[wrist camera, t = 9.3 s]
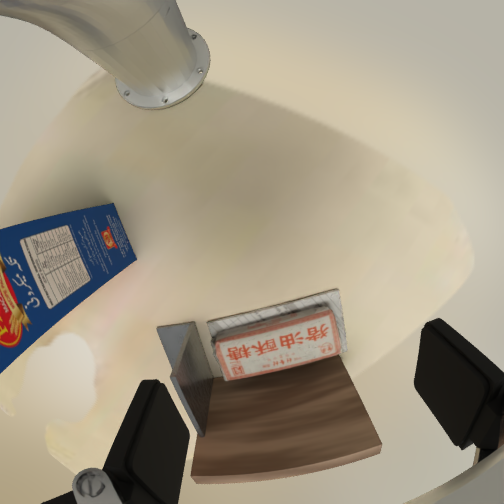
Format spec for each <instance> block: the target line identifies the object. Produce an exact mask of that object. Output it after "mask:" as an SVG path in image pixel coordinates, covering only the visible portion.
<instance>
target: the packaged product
mask: <svg viewBox="0 0 504 504" xmlns="http://www.w3.org/2000/svg"><path fill="white" fill-rule="evenodd" d="M207 325H208V327H209V330H210V333H211V336H212V338H213V339H212V340H211V346H212V348H213V355H214V357H215V358H216V361H217V362H218V363H219V365H220V369H221V372H222V373H223V377H224V380H225V381H229V380H236V379H242V378H248V377H252V376H256V375H262V374H266V373H271V372H275V371H280V370H284V369H288V368H292V367H296V366H300V365H303V364H307V363H311V362H314V361H318V360H321V359H323V358H328V357H332V356H335V355H338V354H341V353H342V352H346V351H348V349H347V341H346V333H345V325H344V319H343V312H342V305H341V299H340V294H339V290H338V289H335V290H331V291H327V292H323V293H320V294H316V295H313V296H310V297H306V298H303V299H300V300H296V301H292V302H288V303H283V304H279V305H275V306H270V307H265V308H261V309H257V310H254V311H251V312H248V313H244V314H239V315H234V316H229V317H225V318H221V319H217V320H214V321H209V322H207Z"/></svg>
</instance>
